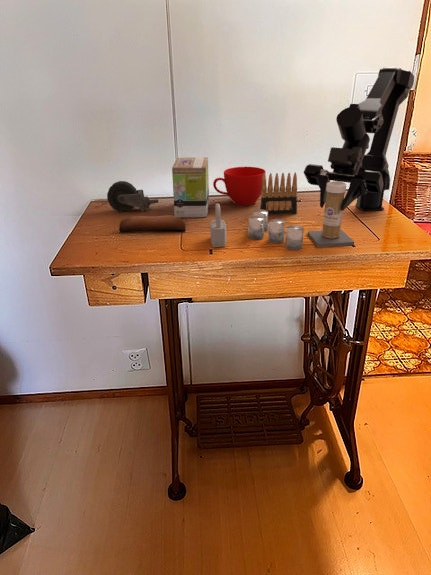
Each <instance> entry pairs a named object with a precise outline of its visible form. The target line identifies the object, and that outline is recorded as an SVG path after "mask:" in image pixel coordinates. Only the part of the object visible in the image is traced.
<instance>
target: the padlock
mask: <svg viewBox="0 0 431 575" xmlns="http://www.w3.org/2000/svg"><path fill="white" fill-rule="evenodd" d="M214 209H215V212H214V213H215V219H212V220H211V221H210V224H209V225H210V226H209V227H210V228H209V229H210V231H209V233H210V243H211V245H212V247H213V248H226V244H227V223H226V221H225V220H224V218H221V216H222V215H221V214H222V213H221V205H220V203H219V202H218V203H215V208H214Z"/></svg>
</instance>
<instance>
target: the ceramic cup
mask: <svg viewBox="0 0 431 575" xmlns="http://www.w3.org/2000/svg"><path fill="white" fill-rule="evenodd" d="M264 173H265V175H266V170H265V169H264V168H260V167H255V166H235V167H230V168H227V169H225V170H224V171H223V177H217V178H215V179H214V180H213V182H212V183H213V184H212V186H213V188H214V190H215V191H216V192H217V193H218V194H222V195H224V196H225V195H226V196H228V198H230V199H231V201H232V202H233V203H234V205H236V206H243V207H244V206H252V205H254V204H255V203H256V202H257V201H258V200H259V199H260V198H261V187H262V178H263V174H264ZM266 176H267V175H266ZM219 181H222V182H223V183H224V187H225V190H226V192H225V191H222V190H220V189H218V187H217V182H219Z"/></svg>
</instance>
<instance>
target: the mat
mask: <svg viewBox="0 0 431 575" xmlns="http://www.w3.org/2000/svg"><path fill="white" fill-rule="evenodd" d="M322 232H323V229H322V230H308V231H307V235H308V237H309V238H310V239H311V240H312V242H313V243H314V244H315V245H316V247H317V248H328V247H342V246H354V245H355V241H354V240H353V239H352V238H351V237H350V236H349V235H348V234H347V233H346V232H345V231H344V230H343V229H342V228H340V237H338V238H335V239H329V238H325V237H323V236H322Z"/></svg>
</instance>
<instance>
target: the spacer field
mask: <svg viewBox="0 0 431 575" xmlns="http://www.w3.org/2000/svg"><path fill="white" fill-rule="evenodd" d="M285 225H286V221H285V220H284V219H281V218H273V219H269V215H268V211H266V210H260V209H255V210H253V211H252V215H251V216H249V217H248V225H247V226H248V229H247V230H248V236H247V237H248V239H250V240H254V241H255V240H258V241H259V240H262V239H264V237H265V233H266V232H268V235H267V236H268V239H267V240H268V241H267V242H269V243H270V244H274V245H275V244H283V243H284V242H285V249H287V250H289V251H301V250H302V249H303V243H304V229H305V227H304V226H302V225H299V224H298V225H297V224H291V225H288V226H287V227H286V226H285ZM285 227H286V229H285ZM285 230H286V233H285ZM285 234H286V237H285ZM285 238H286V239H285ZM285 240H286V241H285Z"/></svg>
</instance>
